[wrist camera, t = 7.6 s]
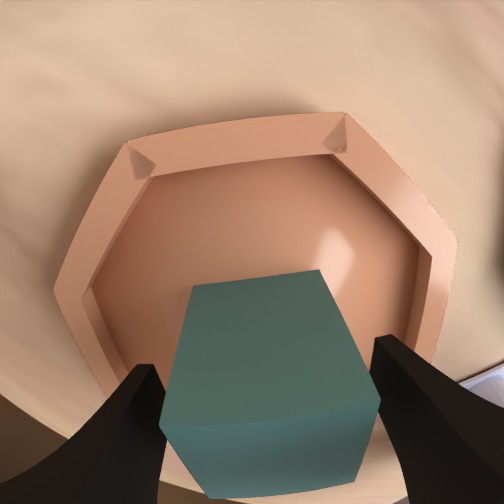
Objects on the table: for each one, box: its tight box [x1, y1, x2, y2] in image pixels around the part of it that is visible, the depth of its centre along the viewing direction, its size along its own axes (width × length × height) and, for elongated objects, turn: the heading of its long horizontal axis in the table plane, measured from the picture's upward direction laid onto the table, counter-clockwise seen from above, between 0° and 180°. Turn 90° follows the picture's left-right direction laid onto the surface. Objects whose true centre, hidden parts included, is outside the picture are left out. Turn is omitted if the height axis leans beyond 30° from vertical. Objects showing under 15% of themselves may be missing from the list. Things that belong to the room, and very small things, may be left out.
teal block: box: [159, 269, 381, 499], centre depth 9 cm, size 4×4×6 cm
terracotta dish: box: [53, 112, 458, 399], centre depth 12 cm, size 15×15×2 cm
